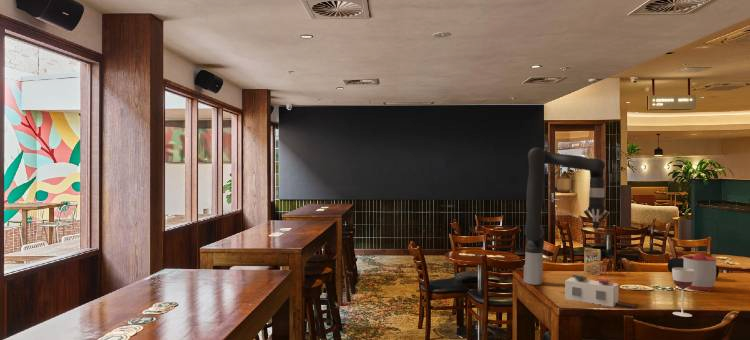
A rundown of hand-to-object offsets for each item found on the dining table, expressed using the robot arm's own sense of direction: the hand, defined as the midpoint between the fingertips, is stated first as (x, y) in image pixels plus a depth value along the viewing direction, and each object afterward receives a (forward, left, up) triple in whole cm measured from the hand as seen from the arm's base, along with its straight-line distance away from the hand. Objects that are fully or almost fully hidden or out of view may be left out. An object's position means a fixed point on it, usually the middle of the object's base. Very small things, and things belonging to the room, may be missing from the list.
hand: (596, 228), depth 280 cm
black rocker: (+1, -30, -23) cm, 38 cm away
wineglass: (+44, -28, -32) cm, 61 cm away
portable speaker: (+37, +74, -32) cm, 89 cm away
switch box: (+10, -30, -32) cm, 45 cm away
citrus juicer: (+44, +38, -32) cm, 66 cm away
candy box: (-12, +40, -32) cm, 53 cm away
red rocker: (+12, -30, -23) cm, 40 cm away
